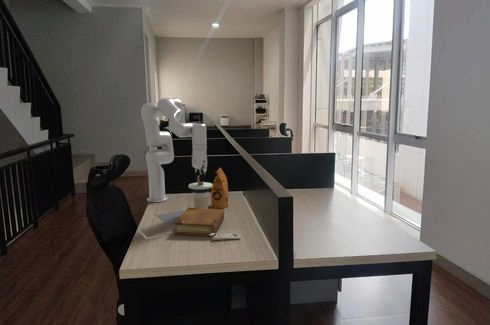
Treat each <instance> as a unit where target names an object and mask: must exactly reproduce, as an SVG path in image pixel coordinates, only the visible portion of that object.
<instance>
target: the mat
mask: <svg viewBox="0 0 490 325" xmlns="http://www.w3.org/2000/svg"><path fill="white" fill-rule="evenodd" d="M185 211H186V210H179V211H173V212H166V213H159V214H155V216H156V217H157V218H159V220H161V221H162V222H163V223H165V224H169V223H175V222H176V221H177V220H178V219H179V217H180V216H181V215H182V214H183V213H184V212H185Z"/></svg>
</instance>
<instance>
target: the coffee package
mask: <svg viewBox="0 0 490 325" xmlns="http://www.w3.org/2000/svg"><path fill="white" fill-rule="evenodd" d="M214 174H216V176H215V178H214V181H213V183H212V184H213V187H212V188H210V198H211V200H210V202H211V204H210V205H211V209H223V210H225V209H226V208H228V206H229V188H228V187H229V184H228V179H227V175H226V174H225V172H224V171H223V170H222V167H219V168H218V169H217V170H216V171H214Z"/></svg>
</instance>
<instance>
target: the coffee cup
mask: <svg viewBox="0 0 490 325" xmlns="http://www.w3.org/2000/svg"><path fill="white" fill-rule="evenodd" d="M209 189H210V188H209ZM209 189H201V190H197V189H192V191H191V192H192V200H193V208H206V209H209V197H210V193H209V192H210V190H209Z"/></svg>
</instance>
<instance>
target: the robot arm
mask: <svg viewBox="0 0 490 325" xmlns="http://www.w3.org/2000/svg"><path fill="white" fill-rule="evenodd" d="M182 110H183V104H182V101H181V100H180V98H177V97H162V98H161V99H159V100H158V101H157V102H146V103H144V104H143V105H142V107H141V109H140V114H141V116H140V117H141V119H142V123H143V125H144V131H145V132H144V133H145V141H146V145H147V146H148V147H149V148H156V149H152V150H149V151H147V152H146V154H145V160H146V165H147V172H148V173H147V174H148V189H149V191H148V193H149V197H147V198H146V201H147V202H149V203H162V202H166V201H168V198H169V197H168V196H166V189H165V188H166V187H165V186H166V185H165V171H164V168H163V167H162V166H161V165H166V164H167V165H168V164H171V163H172V162H173V161H174V159H175V153H174V145H173V138H172V135H171V133H170V132H168V131H167V130H160V124H159V123H158V121H157V119H156V118H160V117H164V118H165V117H166V118H167V119H168V126H169V129H170V131H171V132H172V133H173V134H174V135H175V136H177V137H178V138H191V140H192V142H191V143H192V152H191V165H192V168H194V170H195V171H194V173H195V175H194V176H195V181H198V180H197V176H198V175H199V181H200V182H206V172H207V170H208V157H207V155H208V154H207V149H208V146H207V145H208V144H207V140H208V139H207V125H206V124H205V123H197V122H179V121H180V120H181V119H182V118H183V111H182ZM160 147H162V148H160Z"/></svg>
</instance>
